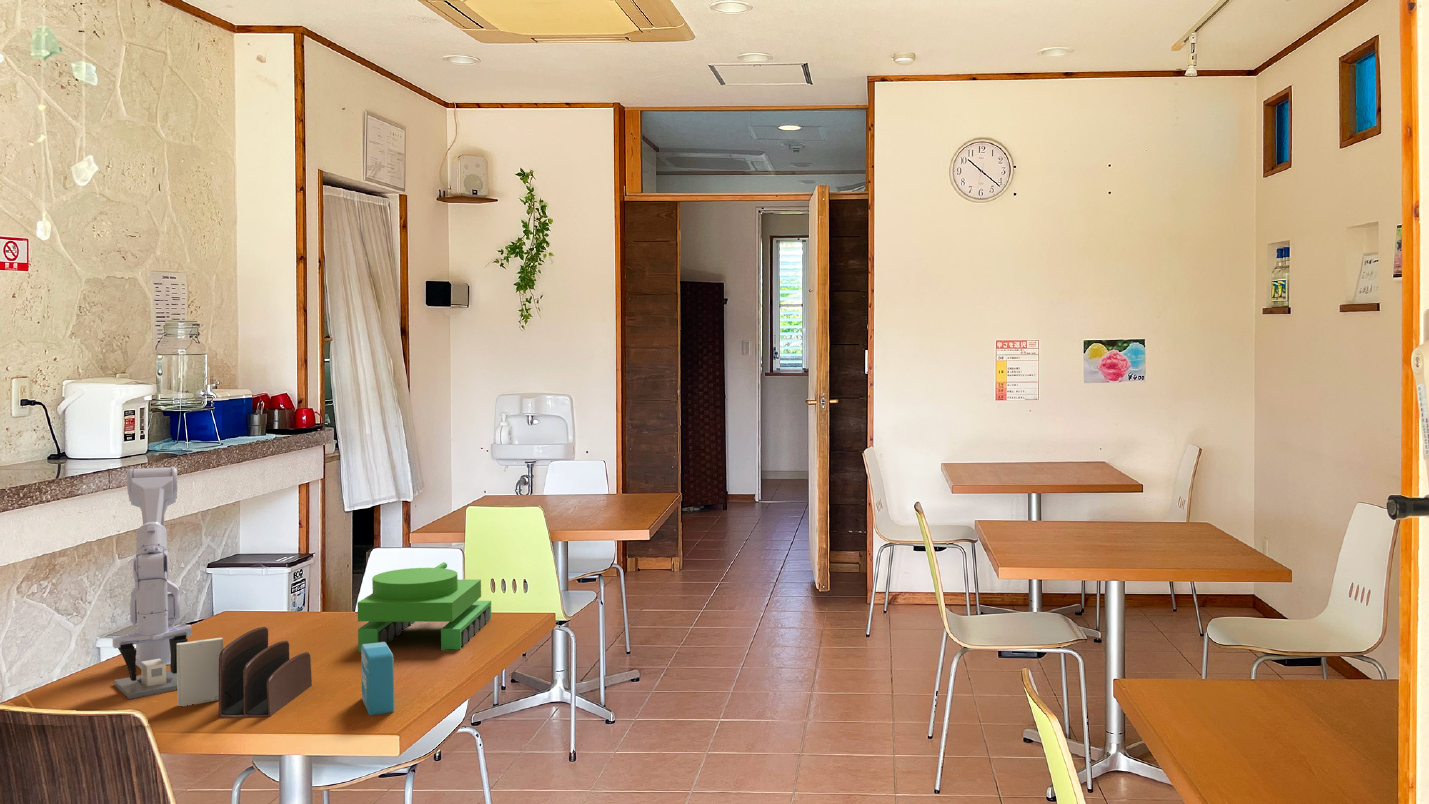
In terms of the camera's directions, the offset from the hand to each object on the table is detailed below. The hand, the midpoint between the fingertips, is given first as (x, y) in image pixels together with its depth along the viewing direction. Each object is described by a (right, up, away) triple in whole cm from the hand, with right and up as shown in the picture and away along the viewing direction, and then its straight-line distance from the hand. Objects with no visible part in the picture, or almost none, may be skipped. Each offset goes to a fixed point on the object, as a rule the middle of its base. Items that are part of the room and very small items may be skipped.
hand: (153, 676), depth 221 cm
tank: (+47, -1, +40) cm, 62 cm away
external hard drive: (+15, -3, -12) cm, 19 cm away
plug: (-1, -2, +1) cm, 3 cm away
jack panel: (+4, -2, +4) cm, 6 cm away
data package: (+52, -3, -16) cm, 54 cm away
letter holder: (+29, -3, -12) cm, 31 cm away
